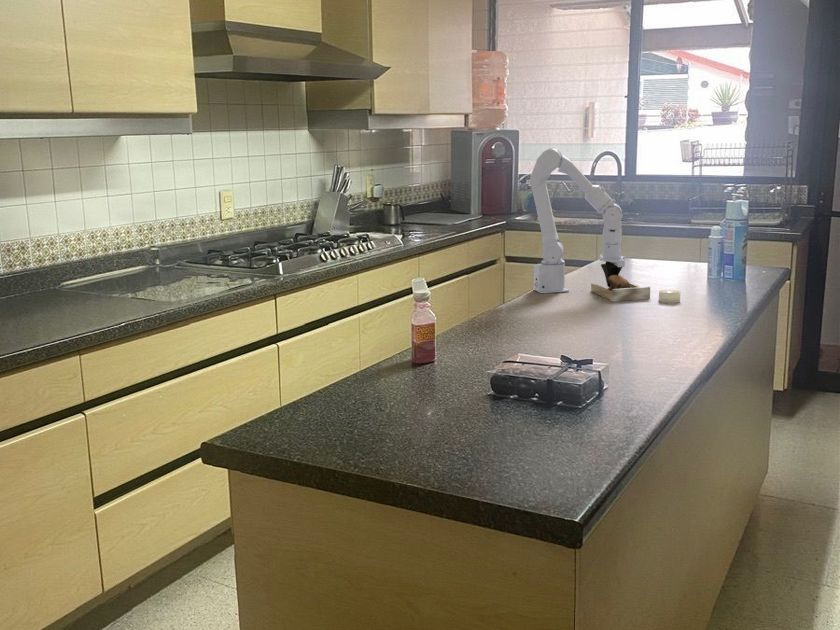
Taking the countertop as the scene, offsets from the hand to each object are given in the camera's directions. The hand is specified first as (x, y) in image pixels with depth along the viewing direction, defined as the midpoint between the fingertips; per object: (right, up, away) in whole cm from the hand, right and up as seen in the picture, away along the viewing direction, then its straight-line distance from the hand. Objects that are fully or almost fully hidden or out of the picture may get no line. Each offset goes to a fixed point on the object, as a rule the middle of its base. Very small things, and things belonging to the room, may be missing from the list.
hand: (611, 286), depth 266 cm
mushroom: (+1, -3, -5) cm, 5 cm away
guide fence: (+1, -3, -5) cm, 6 cm away
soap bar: (+13, -5, -17) cm, 22 cm away
